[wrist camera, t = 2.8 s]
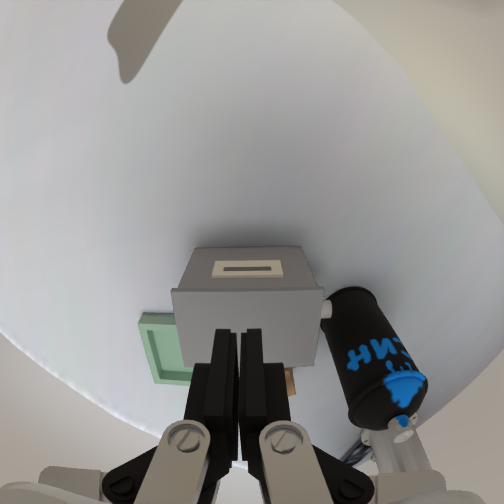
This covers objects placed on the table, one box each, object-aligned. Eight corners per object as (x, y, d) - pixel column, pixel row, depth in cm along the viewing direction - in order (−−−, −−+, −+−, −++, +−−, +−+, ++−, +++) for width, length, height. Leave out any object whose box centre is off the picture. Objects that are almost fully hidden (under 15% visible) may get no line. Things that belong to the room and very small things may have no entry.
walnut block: (292, 369, 41) (296, 394, 37) (259, 376, 42) (259, 401, 37) (284, 345, 39) (288, 370, 35) (249, 353, 40) (249, 378, 35)
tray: (230, 375, 41) (229, 387, 39) (158, 371, 41) (154, 383, 39) (225, 314, 37) (224, 325, 35) (143, 312, 37) (137, 323, 35)
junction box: (313, 307, 37) (331, 364, 27) (199, 309, 37) (184, 367, 27) (319, 243, 34) (345, 287, 24) (192, 244, 34) (170, 290, 24)
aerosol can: (370, 335, 39) (423, 449, 21) (314, 339, 39) (348, 467, 21) (382, 285, 36) (460, 397, 18) (322, 286, 36) (375, 418, 17)
